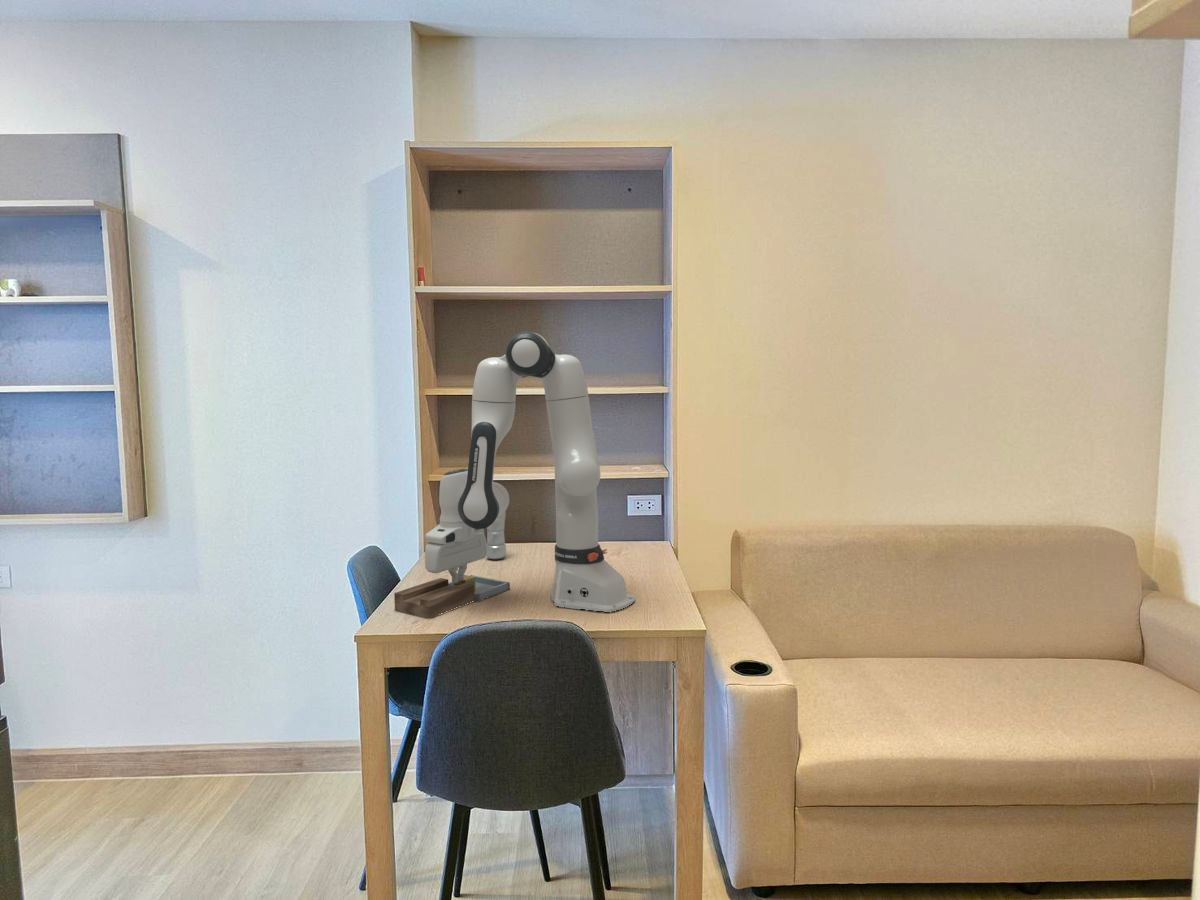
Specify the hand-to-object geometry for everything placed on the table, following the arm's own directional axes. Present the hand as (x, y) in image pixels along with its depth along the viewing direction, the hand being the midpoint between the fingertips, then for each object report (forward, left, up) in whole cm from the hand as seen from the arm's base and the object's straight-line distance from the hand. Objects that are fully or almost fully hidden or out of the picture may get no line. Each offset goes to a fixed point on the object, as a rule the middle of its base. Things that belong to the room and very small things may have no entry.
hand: (458, 581), depth 196 cm
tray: (0, -6, -4) cm, 8 cm away
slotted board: (0, +9, -4) cm, 9 cm away
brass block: (+1, -1, -2) cm, 2 cm away
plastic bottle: (+18, -36, -4) cm, 41 cm away
